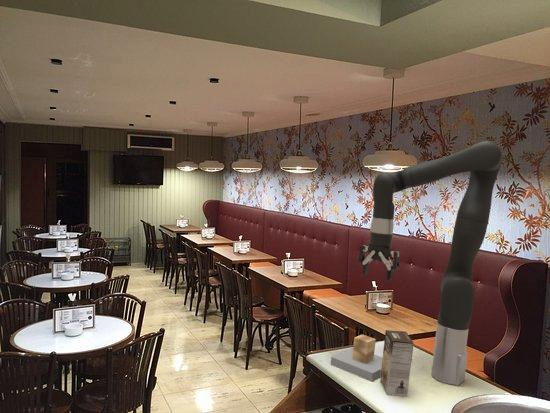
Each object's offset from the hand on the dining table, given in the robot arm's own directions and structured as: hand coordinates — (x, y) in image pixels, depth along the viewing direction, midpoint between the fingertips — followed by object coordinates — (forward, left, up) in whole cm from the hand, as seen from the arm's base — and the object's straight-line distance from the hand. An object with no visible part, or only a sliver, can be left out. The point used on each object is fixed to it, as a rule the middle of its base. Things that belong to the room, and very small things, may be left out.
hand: (376, 278), depth 154 cm
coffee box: (-18, +17, -28) cm, 37 cm away
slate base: (-4, +11, -27) cm, 30 cm away
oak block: (-4, +11, -25) cm, 27 cm away
